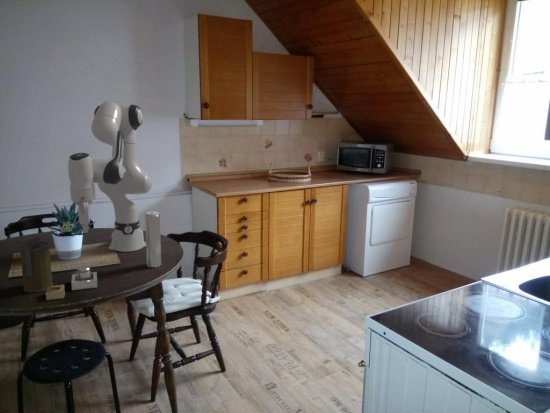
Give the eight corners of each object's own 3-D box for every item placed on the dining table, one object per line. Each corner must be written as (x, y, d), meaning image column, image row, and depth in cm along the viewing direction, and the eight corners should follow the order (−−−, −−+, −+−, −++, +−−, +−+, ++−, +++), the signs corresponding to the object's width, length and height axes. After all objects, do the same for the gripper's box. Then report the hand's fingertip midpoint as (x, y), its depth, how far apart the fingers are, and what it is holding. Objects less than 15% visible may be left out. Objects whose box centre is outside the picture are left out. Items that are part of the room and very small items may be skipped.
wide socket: (72, 281, 175) (72, 274, 174) (97, 278, 178) (96, 271, 177) (72, 290, 166) (71, 283, 166) (97, 287, 170) (96, 280, 169)
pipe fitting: (78, 282, 174) (77, 266, 172) (91, 281, 175) (90, 265, 174) (78, 287, 169) (77, 271, 168) (91, 285, 171) (90, 269, 170)
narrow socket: (47, 293, 163) (47, 286, 162) (65, 291, 165) (64, 284, 164) (46, 300, 157) (45, 292, 157) (64, 298, 160) (63, 290, 159)
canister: (31, 281, 173) (26, 234, 169) (57, 281, 174) (53, 235, 170) (17, 293, 163) (11, 243, 158) (45, 292, 164) (41, 243, 159)
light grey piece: (157, 268, 191) (155, 214, 186) (144, 266, 193) (141, 213, 187) (163, 263, 198) (162, 211, 192) (150, 261, 199) (148, 210, 193)
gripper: (91, 200, 158) (94, 235, 162) (91, 189, 176) (94, 220, 180) (73, 202, 156) (76, 237, 159) (75, 190, 174) (78, 222, 178)
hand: (86, 228), depth 170 cm, fingers open, 8 cm apart
